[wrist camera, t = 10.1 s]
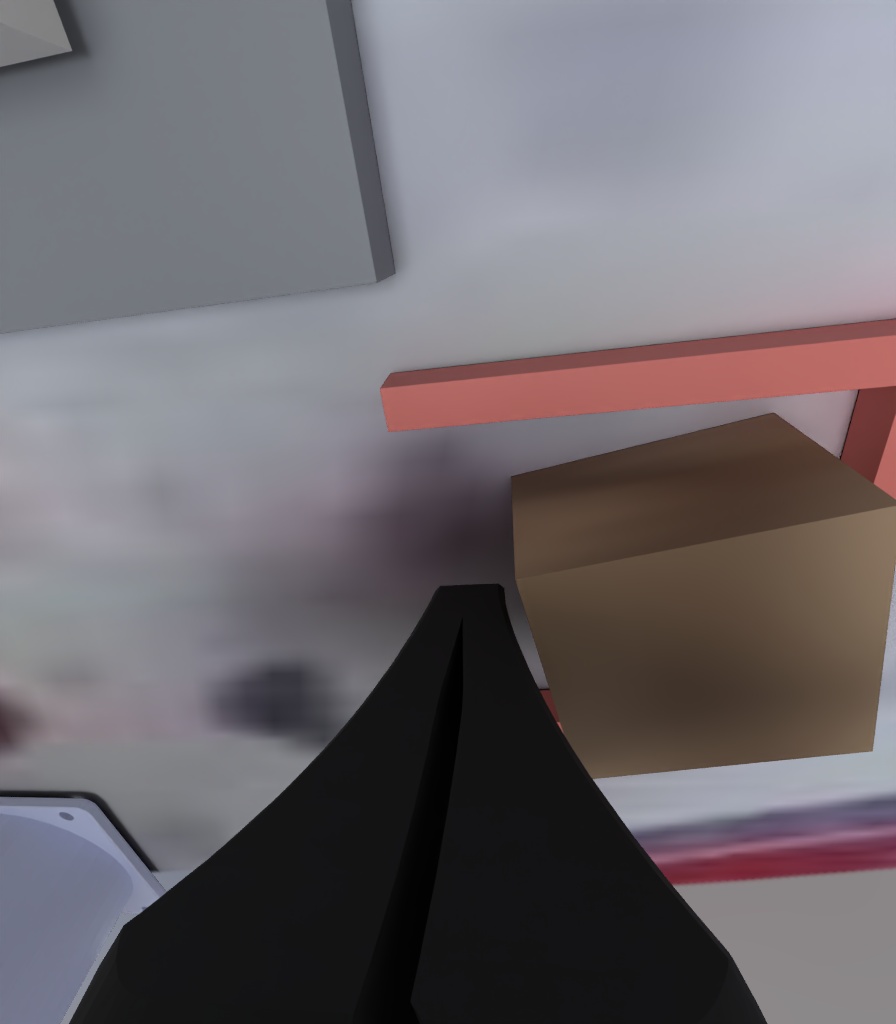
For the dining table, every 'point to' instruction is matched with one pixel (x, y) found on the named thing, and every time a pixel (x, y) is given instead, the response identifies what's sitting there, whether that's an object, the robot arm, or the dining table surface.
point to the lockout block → (708, 598)
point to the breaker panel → (186, 161)
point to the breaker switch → (30, 31)
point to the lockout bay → (672, 386)
